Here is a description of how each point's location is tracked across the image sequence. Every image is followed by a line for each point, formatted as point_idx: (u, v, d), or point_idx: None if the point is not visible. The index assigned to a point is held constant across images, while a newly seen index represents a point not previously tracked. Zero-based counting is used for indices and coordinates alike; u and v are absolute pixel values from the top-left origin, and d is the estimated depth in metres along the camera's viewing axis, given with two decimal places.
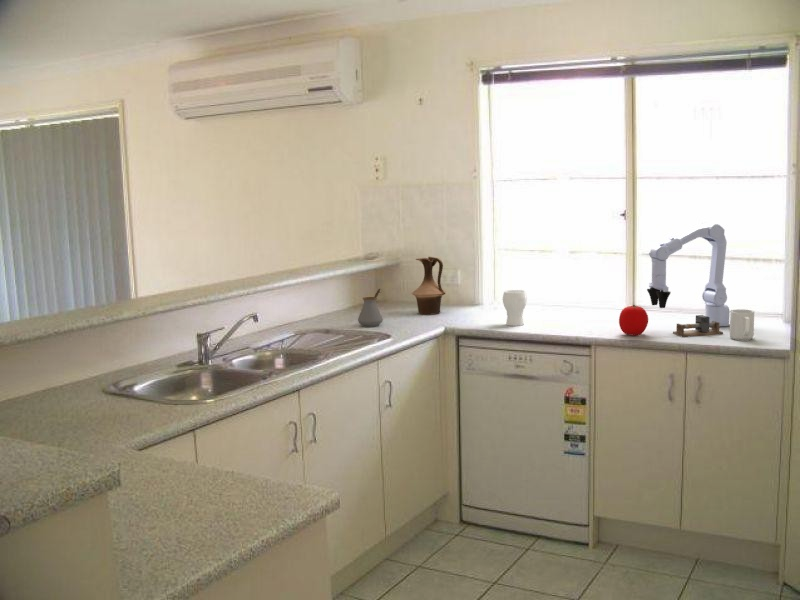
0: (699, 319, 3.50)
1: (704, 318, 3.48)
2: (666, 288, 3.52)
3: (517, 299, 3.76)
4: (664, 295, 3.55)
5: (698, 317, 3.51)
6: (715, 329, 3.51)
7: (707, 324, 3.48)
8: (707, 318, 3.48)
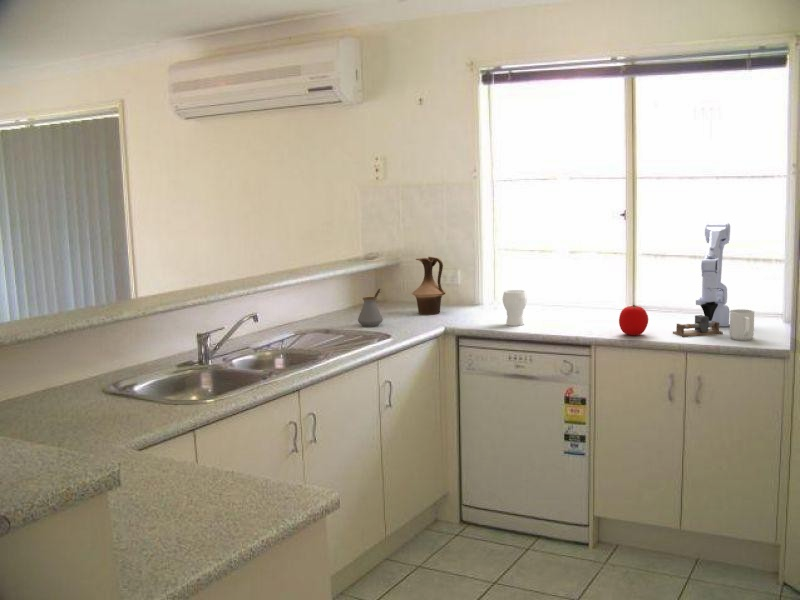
0: (698, 319, 3.50)
1: (703, 318, 3.48)
2: (698, 301, 3.46)
3: (517, 299, 3.76)
4: None
5: (697, 317, 3.51)
6: (715, 329, 3.51)
7: (706, 324, 3.48)
8: (706, 318, 3.48)
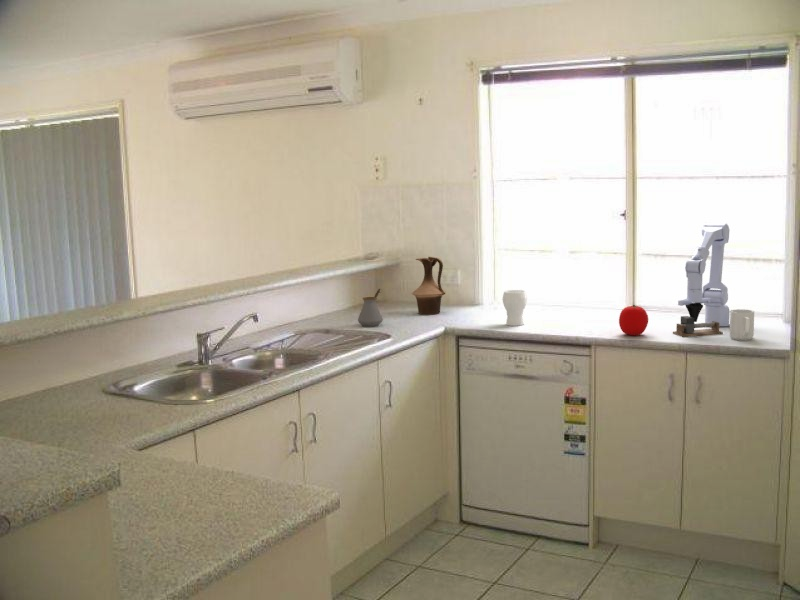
0: (684, 320, 3.49)
1: (689, 319, 3.46)
2: (679, 302, 3.46)
3: (517, 299, 3.76)
4: None
5: (683, 318, 3.49)
6: (715, 329, 3.51)
7: (692, 325, 3.47)
8: (692, 319, 3.47)
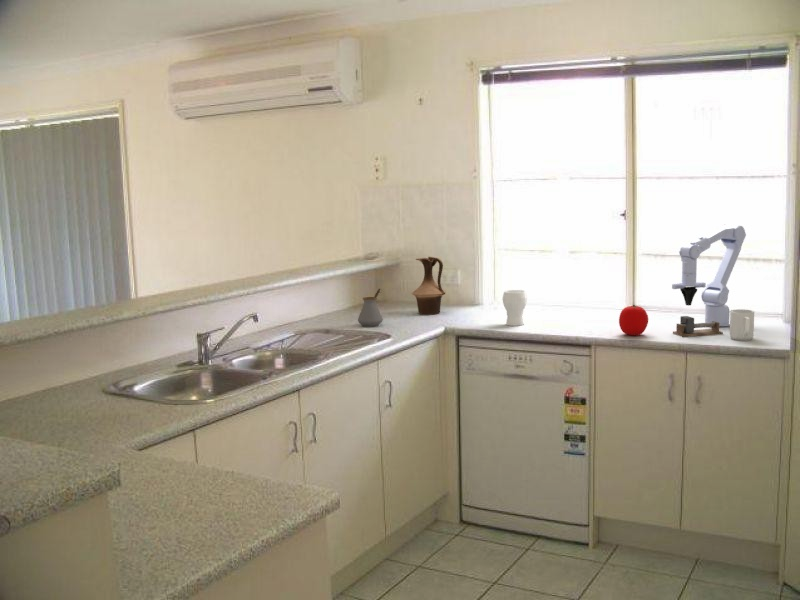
0: (684, 320, 3.49)
1: (689, 319, 3.46)
2: (673, 285, 3.56)
3: (517, 299, 3.76)
4: None
5: (683, 318, 3.49)
6: (715, 329, 3.51)
7: (691, 325, 3.47)
8: (692, 319, 3.47)
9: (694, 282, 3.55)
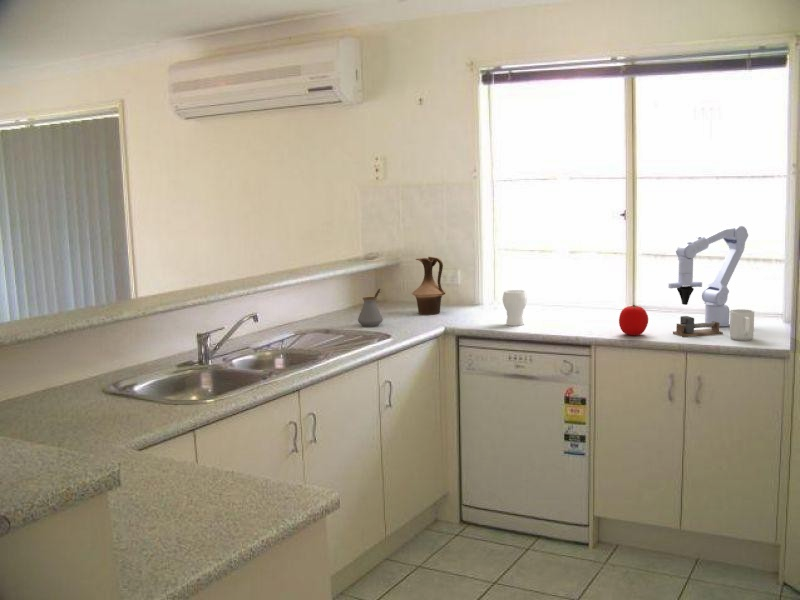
0: (684, 320, 3.49)
1: (689, 319, 3.46)
2: (669, 285, 3.58)
3: (517, 299, 3.76)
4: None
5: (683, 318, 3.49)
6: (715, 329, 3.51)
7: (691, 325, 3.47)
8: (692, 319, 3.47)
9: (690, 281, 3.57)
